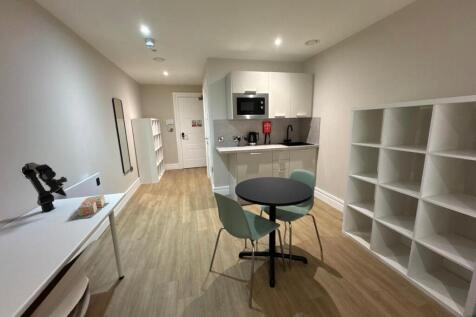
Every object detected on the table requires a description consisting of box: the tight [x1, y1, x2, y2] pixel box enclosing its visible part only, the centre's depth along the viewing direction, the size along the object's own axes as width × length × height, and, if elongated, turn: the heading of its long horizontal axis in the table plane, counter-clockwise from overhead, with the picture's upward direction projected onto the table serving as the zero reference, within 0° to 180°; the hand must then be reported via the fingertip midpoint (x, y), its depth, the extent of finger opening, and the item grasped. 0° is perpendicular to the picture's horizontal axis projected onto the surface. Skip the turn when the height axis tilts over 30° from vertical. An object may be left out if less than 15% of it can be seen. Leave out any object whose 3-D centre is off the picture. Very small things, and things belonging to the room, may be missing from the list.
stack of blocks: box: [77, 194, 106, 216], centre depth 154 cm, size 21×6×12 cm
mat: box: [71, 202, 110, 221], centre depth 152 cm, size 13×24×1 cm, turn 5°
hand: (65, 195), depth 153 cm, fingers closed
